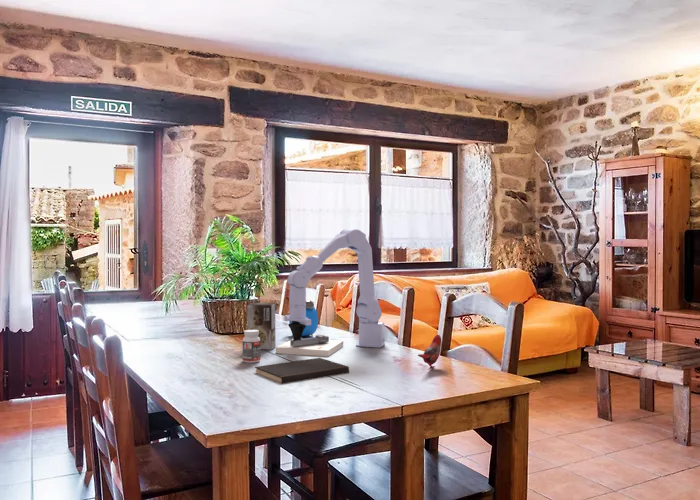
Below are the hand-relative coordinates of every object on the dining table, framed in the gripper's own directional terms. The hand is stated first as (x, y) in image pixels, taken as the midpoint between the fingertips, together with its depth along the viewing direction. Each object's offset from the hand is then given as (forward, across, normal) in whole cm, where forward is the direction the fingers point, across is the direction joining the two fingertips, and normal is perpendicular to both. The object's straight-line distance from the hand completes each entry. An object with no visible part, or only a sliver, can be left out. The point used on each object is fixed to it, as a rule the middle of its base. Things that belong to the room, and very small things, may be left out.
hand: (297, 343), depth 205 cm
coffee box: (+3, -13, -7) cm, 15 cm away
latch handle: (0, +1, +4) cm, 5 cm away
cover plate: (+3, 0, +6) cm, 6 cm away
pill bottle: (+3, +5, -21) cm, 22 cm away
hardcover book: (+4, +28, -16) cm, 32 cm away
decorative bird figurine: (+3, +48, +17) cm, 51 cm away
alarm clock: (+3, -25, +19) cm, 32 cm away
